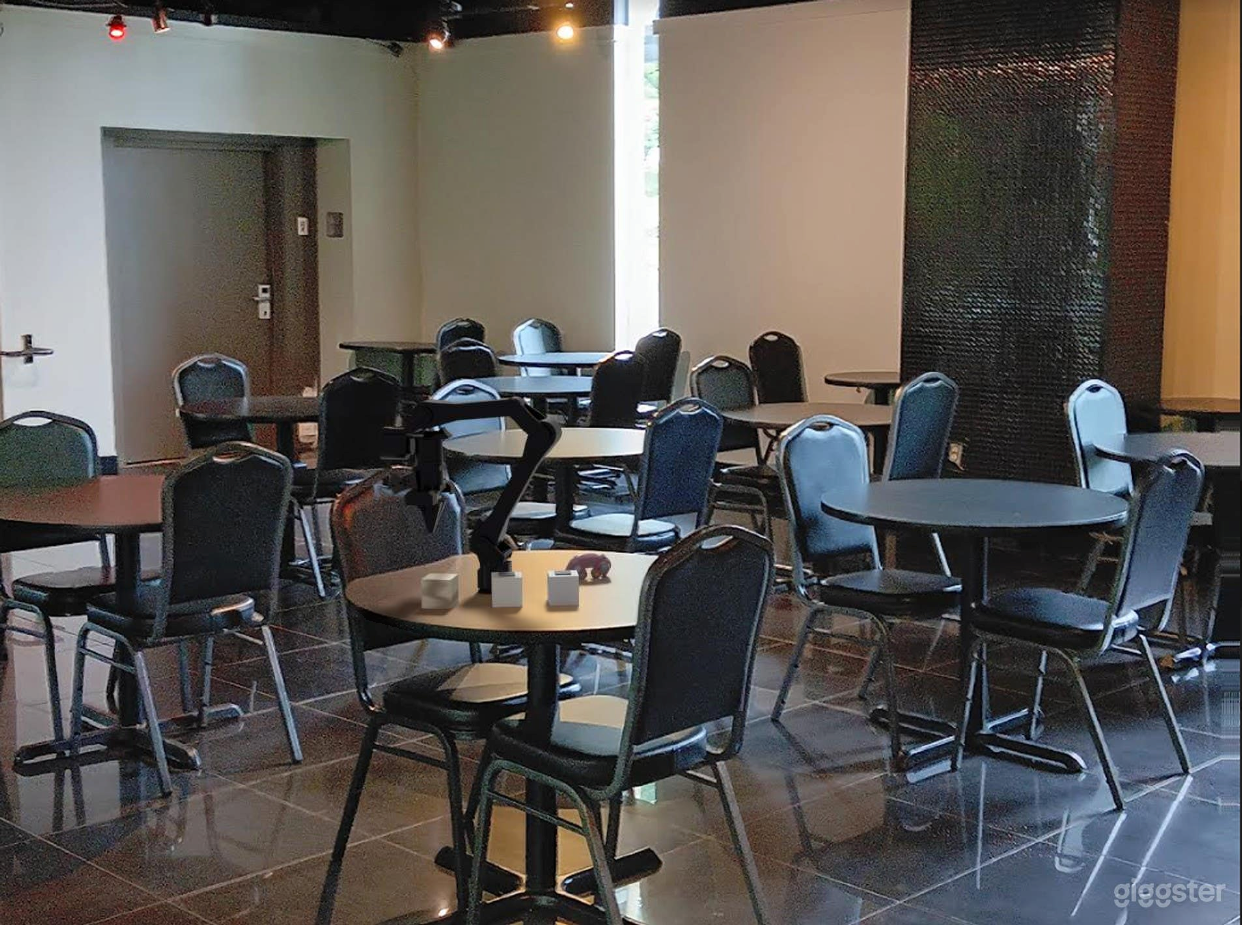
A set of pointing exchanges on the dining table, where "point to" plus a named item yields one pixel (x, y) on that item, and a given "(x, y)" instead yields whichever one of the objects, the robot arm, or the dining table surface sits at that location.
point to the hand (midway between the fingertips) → (430, 533)
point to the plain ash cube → (439, 591)
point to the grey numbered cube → (563, 587)
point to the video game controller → (590, 565)
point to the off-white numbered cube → (507, 589)
